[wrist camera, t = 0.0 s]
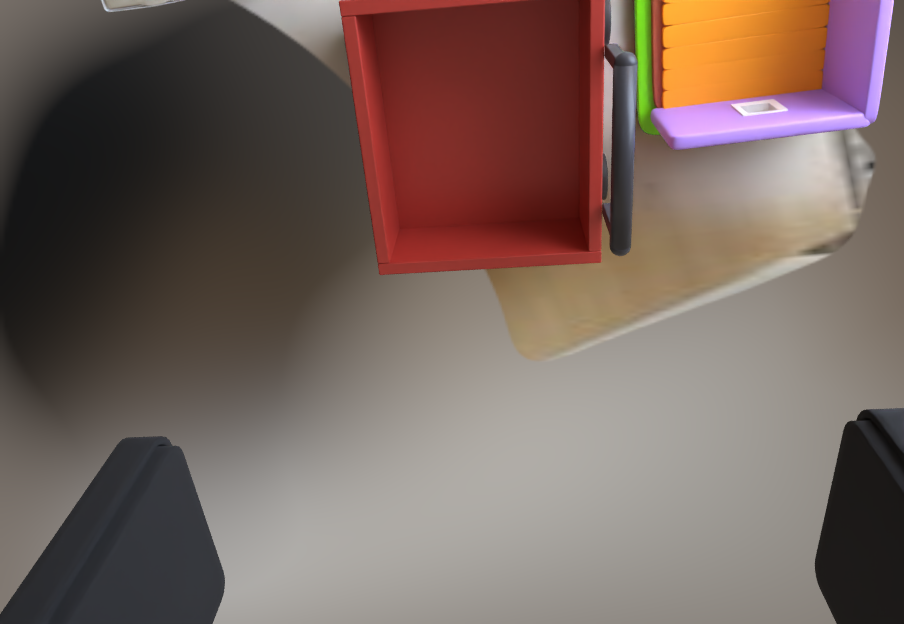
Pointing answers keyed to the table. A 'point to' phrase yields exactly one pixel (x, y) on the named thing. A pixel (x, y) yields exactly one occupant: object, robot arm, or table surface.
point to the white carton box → (133, 4)
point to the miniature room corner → (758, 67)
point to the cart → (490, 131)
